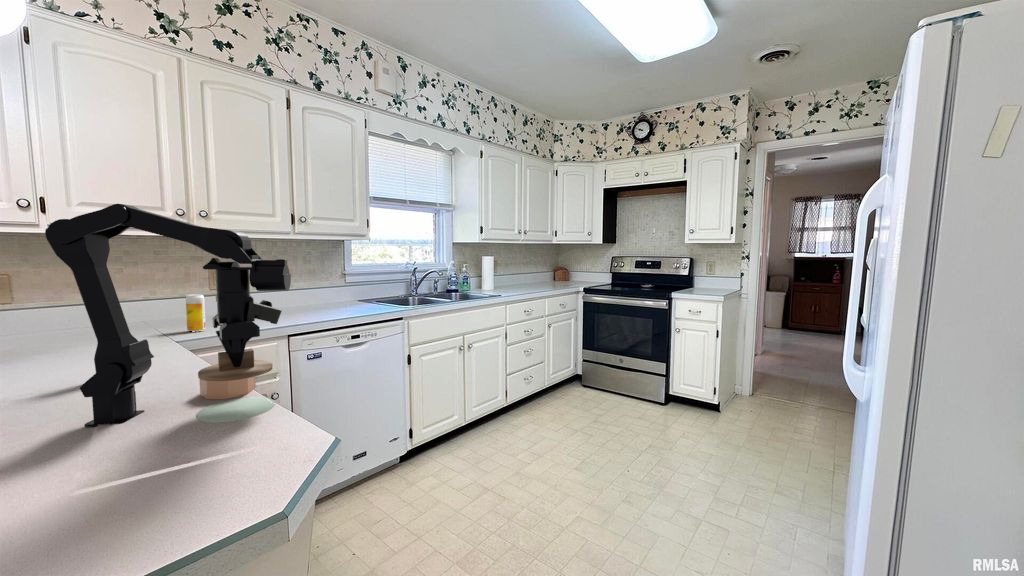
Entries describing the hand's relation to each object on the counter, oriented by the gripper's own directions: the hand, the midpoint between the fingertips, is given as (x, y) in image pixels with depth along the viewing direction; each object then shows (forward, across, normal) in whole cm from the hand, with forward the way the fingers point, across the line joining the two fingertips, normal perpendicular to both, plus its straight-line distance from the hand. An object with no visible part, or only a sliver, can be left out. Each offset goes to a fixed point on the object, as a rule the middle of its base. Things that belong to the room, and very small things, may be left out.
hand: (236, 365), depth 87 cm
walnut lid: (+1, 0, 0) cm, 1 cm away
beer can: (+10, +110, +1) cm, 111 cm away
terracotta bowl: (+10, +14, 0) cm, 17 cm away
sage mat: (+10, 0, 0) cm, 10 cm away
